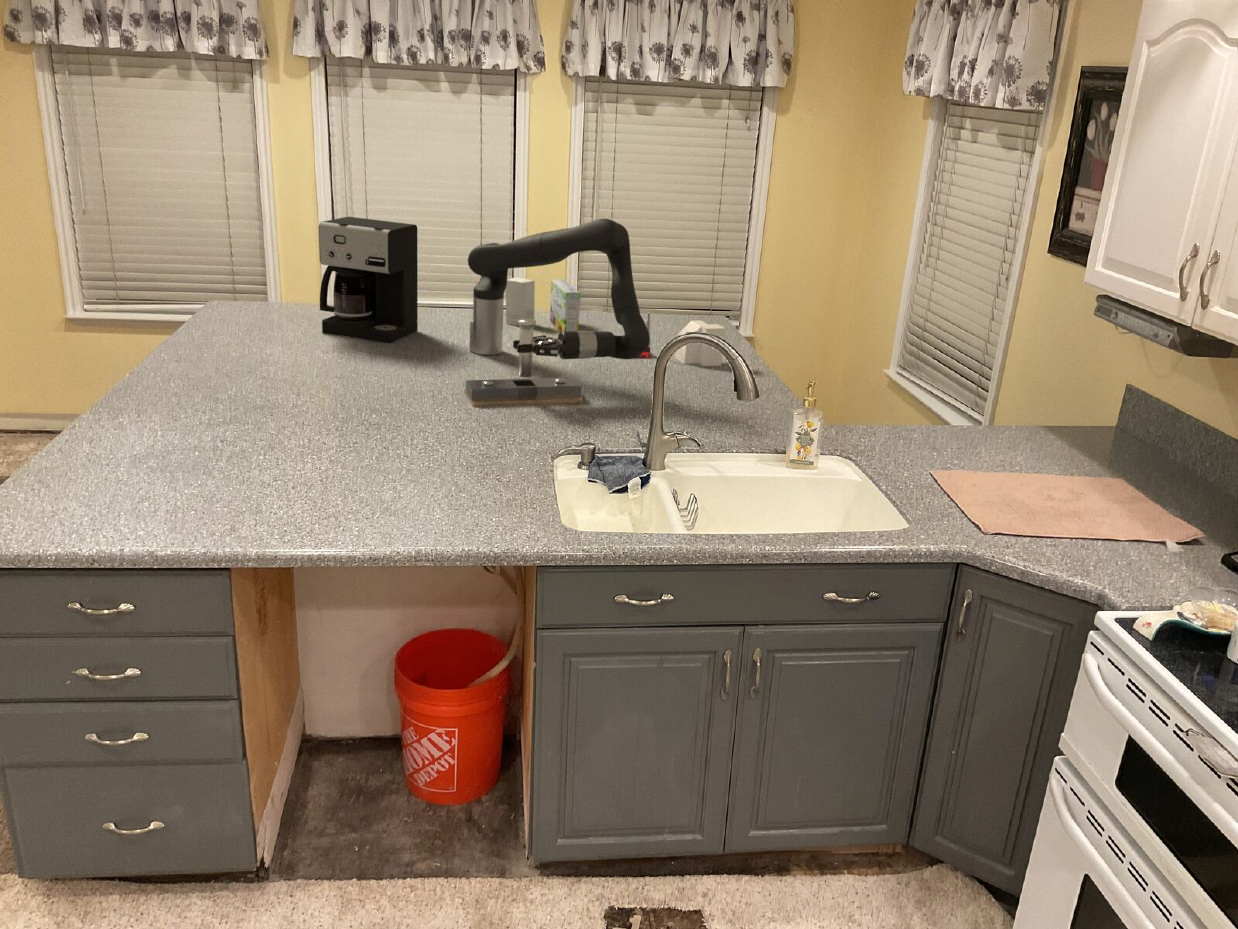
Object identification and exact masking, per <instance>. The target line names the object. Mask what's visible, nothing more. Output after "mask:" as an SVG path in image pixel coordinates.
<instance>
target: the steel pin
mask: <svg viewBox="0 0 1238 929" xmlns="http://www.w3.org/2000/svg"><path fill="white" fill-rule="evenodd" d="M518 325H520V326H519V339H518V340H519V344H531V345H532V344H533V343H534V342H533V337H534V327H535V326H536V325H537V320H536V319H535V318H534V319H518ZM533 356H534V354H533V353H532V352H531V353H518V377H521V378H531V377H532V376H533Z"/></svg>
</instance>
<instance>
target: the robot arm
mask: <svg viewBox="0 0 1238 929" xmlns="http://www.w3.org/2000/svg"><path fill="white" fill-rule="evenodd" d="M630 244H631V242H630V235H629V231H628V230H627V228H626V227H625V226H623V224H621V223H619V222H616V221H615V220H612V219H610V218H598V219H595V220H592V221H589V222H586V223H583V224H580V225H577V226H573V227H567V228H561V229H556V230H549V231H544V232H540V233H539V232H538V233H535V234H530V235H527V236H524V237H520V238H518V239H515V240H512V241H509V242H506V243H497V242H490V243H485V244H480V245H477V246H476V247H474V248H473V249H472V250H470V252H469V254H468V257H467V263H468V266H469V269H470V270H471V271H472V272H473V273H474V274H476V275H477V276H480V279H479V281H478V282H477V284H475V286H474V287H473V289H472V290H473V293H472V299H473V300H472V320H470V322H469V352H472V353H475V354H476V355H477V354H478V355H482V356H495V355H496V356H497V355H500V354H502V353H503V334H504V333H503V332H504V301H505V300H504V299H505V298H504V297H505V296H504V294H505V292H506V286H507V279H508V275H509V270H510V269H520V268H521V269H522V268H533V267H542V266H548V265H553V264H557V263H560V262H562V261H564V260H566V259H567V258H569V257H570V256H571V255H573V254H577V253H581V252H593V251H595V252H596V251H597V252H600V253H602V254H605V255H606V257H607V259H608V262H609V264H610V268H611V277H612V278H611V288H610V298H611V303H612V310H613V314H614V317H615V320H616V323H617V324H618V325H620V326H622V329H623V333H624V335H615V334H614V333H613V332H612V331H604V330H603V331H589V330H578V331H562V332H560V331H559V334H558V336H557V338H555V337H554V338H553V336H547V335H545V334H542V335H537V336H534V335H533V344H532V345H531V344H519V339H515V340H513V342H512V347H513V349H514V350H516V352H517V353H518V354H519V353H531V352H532V353H533V355H534V354H535V356H537V357H538V356H545V357H555V358H556V357H559V358H560V359H561V360H581V359H582V360H583V359H584V360H585V359H586V360H587V359H591V358H614V359H619V360H633V359H637V358H640V357H639V356H640V355H641V354H642V353H643V352H644V351H645V350H646V349H647V348H648V346H649V344H650V345H651V335H650V336H649V332H648V329H647V327H646V324H647V323H646V322H645V321H644V318H643V317H642V315H641V311H640V306H639V303H638V302H639V301H638V298H637V293H636V288H635V284H634V277H633V276H634V275H633V269H632V268H633V267H632V257H631V245H630Z"/></svg>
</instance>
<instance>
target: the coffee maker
mask: <svg viewBox="0 0 1238 929" xmlns="http://www.w3.org/2000/svg"><path fill="white" fill-rule="evenodd" d="M318 248H319V263H320V264H321V265H323V266H326V269H325V271H324V273H323V275H322V278H321V283H320V289H319V291H320V292H319V311H322V312H329V313H333V314H334V315H332V316H329V317H327V318H324V319H322V321H321V332H322V334H326V335H332V336H333V335H334V336H339V337H346V338H352V339H358V340H366V341H371V342H378V343H385V344H391V343H394V342H396V341H399V340H401V339H403V338H405V337H407V336H410V335H413V334H415V333H416V332H418V329H419V328H418V327H419V326H418V325H419V324H418V320H419V319H418V313H419V312H418V300H419V299H418V225H416V224H413V223H412V224H411V223H405V222H404V223H403V222H396V221H388V220H381V219H380V220H379V219H373V218H372V219H371V218H363V217H354V216H345V217H339V218H334V219H330V220H325V221H321V222H320V223H319V225H318ZM333 272H334V273H335V272H336V274H335V277H334V282H333V295H332V296H333V305H328V294H329V293H328V291H329V285H330V284H329V283H330V280H331V275H332V273H333Z"/></svg>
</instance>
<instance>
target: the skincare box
mask: <svg viewBox="0 0 1238 929" xmlns="http://www.w3.org/2000/svg"><path fill="white" fill-rule="evenodd" d="M535 282H536V281H535V280H533V279H530V278H529V279H528V278H521V277H517V276H515V277H512V278H509V279H508V278H507V286H506V289H505V324H506V325H513V326H518V327H520V325H518V319H534V320H535V298H536V297H535V293H536V292H535V289H536V288H535V286H536V285H535Z"/></svg>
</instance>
